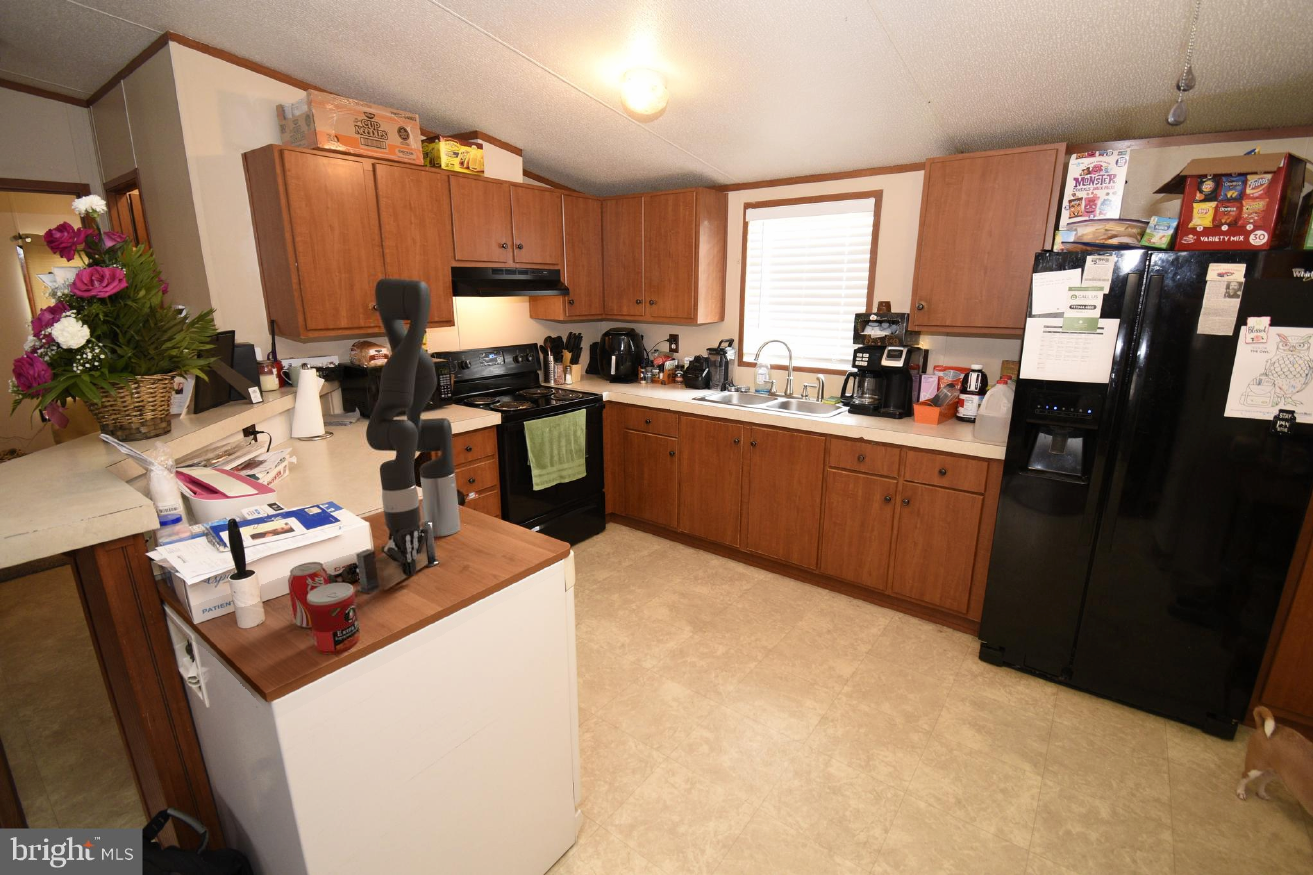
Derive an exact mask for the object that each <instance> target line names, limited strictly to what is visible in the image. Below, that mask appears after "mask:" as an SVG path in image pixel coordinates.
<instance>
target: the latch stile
mask: <svg viewBox="0 0 1313 875" xmlns="http://www.w3.org/2000/svg"><path fill="white" fill-rule="evenodd" d="M355 556H356V561H357V569H358V571H359V578H360V580H359V584H360V586H359V587H357V588H355V591H357V592H360V593H363V594H366V595H369V594H371V593H374V592H376V591H377V590H380V589H379V583H378V575H377V568H376V562H375V561H374V559H375V558H377V557H376V551H375V550H373V549H369V548H367V549H365V550H362V551H360V552H357V553H356V554H355Z"/></svg>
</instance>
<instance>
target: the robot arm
mask: <svg viewBox="0 0 1313 875" xmlns="http://www.w3.org/2000/svg"><path fill="white" fill-rule="evenodd" d="M431 297H432V296H431V291H430V289H429V286H428V285H427V283H426V282H425V281H421V280H416V279H406V278H393V277H392V278H391V277H387V278H384V277H383V278H380V279H379V280H378V281H377V282H376V284H375V288H374V299H375V303H376V308H377V312H378V315H379V319H380V320H381V324H382V327H383V329H384V332H385V335H386V338H387V341H388V344H389V347H390V351H391V355H390V356H389V357H388V358H387V360H386V362H385V363H384V364H383V367H382V369H381V374H380V380H379V381H380V383H379V393H378V397H377V398H378V399H377V401H376V404H375V406H374V409H373V411H372V413H371V416H370V418H369V420H368V424H367V425H366V431H365V438H366V441H367V443H368V445H369V447H370V448H371V449H373V450H375V451H378V452H379V451H380V452H382V451H383V452H385V451H386V452H387V451H388V452H395V458H394V459H390V460H386V461H384V462H382V464H380V466H379V476H380V483H381V484H380V485H381V502H382V507H383V515H384V522H385V523H384V524H385V527H386V528H387V529H388V532H389V533H388V537H387V538H388V543H387V544H386V546H385V545H383V546H381V549H380V551H381V552H382V554H384V553H385V554H386V555H387V556H388V557H389V558H391V559H392V560H393V561H394V562H401V563H402V570H403V574H404V575H405V576H407V577H412V576H414V575H416V574H417V571H416V562H415V559H416V557H417V554H420V553H421V551H422V548H423V546H424V543H425V540H426V537H427V534H428V529H423V528H421V523H422V522H424V521H432V527H433V537H438V538H440V537H445V536H450V535H453V534H456V533H458V532H459V531H460V530H461V521H460V511H459V502H458V491H457V489H458V488H457V480H456V471H455V470H456V469H455V463H454V461H455V460H454V451H453V449H454V448H453V446H454V445H453V444H454V442H453V428H452V424H451V421H450V420H449V419H448V418H445V417H442V418H441V417H439V418H421V417H422V412H423V411H424V409H425V407H426V405H427V404H428V402H429V401H430V399H432V398H431V397H432V396H433V394H434V392H435V391H436V388H437V384H438V378H437V373H436V368H435V362H434V360H433V358H432V356H431V355H430V354H429V353H428V352H427V350H426V349H425V348H424V347H423V343H424V339H425V336H426V331H427V326H428V322H429V317H430V314H431V304H432V302H431V301H432V300H431ZM404 321H409V325H408V328H407V327H406V325H405V322H404ZM402 411H405V415H406V419H394V418H395V417H396V415H397V414H398V413H400V412H402ZM417 452H419V453H429V452H430V453H431V452H440V454H439V456H437V457H436V458H434V459H432V460H429V461H427V462H424V463H423V464H422V465H421V466H420V467H419V476H420V483H421V484H420V485H421V494H422V500H421V501H419V500H420V499H419V492H418V488H417V485H416V478H415V477H416V475H415V458H416V453H417ZM420 506H421V507H420ZM420 508H421V509H420ZM421 513H422V515H421ZM418 543H419V545H418ZM404 554H405V556H404Z"/></svg>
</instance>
